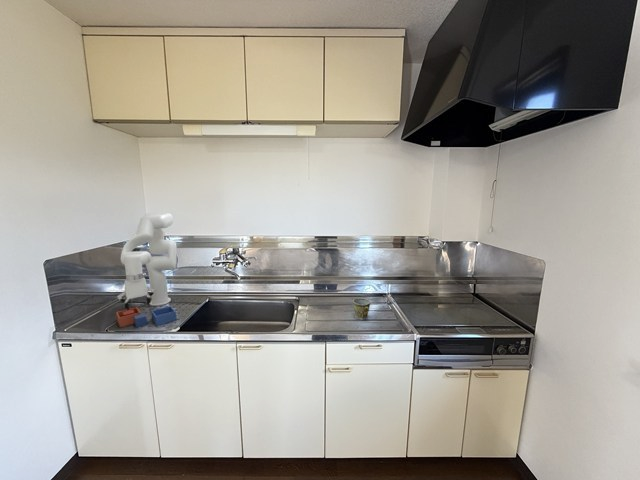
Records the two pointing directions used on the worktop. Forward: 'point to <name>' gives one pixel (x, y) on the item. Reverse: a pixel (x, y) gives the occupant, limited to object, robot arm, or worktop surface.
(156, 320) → the blue bin
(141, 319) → the blue block
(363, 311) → the ceramic cup
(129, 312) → the red block
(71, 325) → the worktop surface
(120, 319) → the red bin
